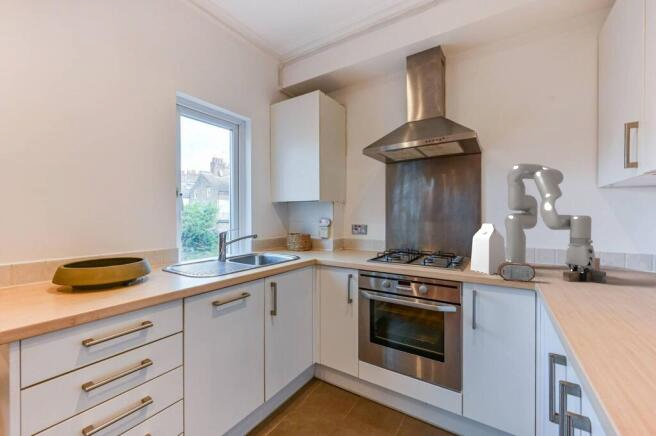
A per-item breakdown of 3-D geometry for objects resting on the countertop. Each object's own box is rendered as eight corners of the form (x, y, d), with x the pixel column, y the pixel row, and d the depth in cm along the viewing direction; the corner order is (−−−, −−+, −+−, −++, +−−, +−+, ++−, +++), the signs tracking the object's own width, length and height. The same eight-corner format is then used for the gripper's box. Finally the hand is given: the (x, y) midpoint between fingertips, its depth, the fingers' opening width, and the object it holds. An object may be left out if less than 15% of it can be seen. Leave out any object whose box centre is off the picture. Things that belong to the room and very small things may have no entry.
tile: (594, 278, 137) (595, 258, 137) (574, 274, 147) (574, 255, 147) (599, 278, 137) (599, 258, 137) (578, 274, 147) (579, 255, 147)
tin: (533, 280, 133) (533, 263, 133) (536, 282, 130) (536, 264, 130) (497, 278, 137) (497, 261, 137) (499, 280, 134) (499, 262, 134)
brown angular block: (578, 283, 127) (578, 272, 127) (554, 277, 139) (554, 267, 139) (605, 283, 129) (606, 272, 129) (579, 277, 141) (579, 267, 141)
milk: (505, 273, 149) (506, 224, 149) (488, 274, 146) (489, 224, 145) (486, 268, 161) (487, 223, 160) (470, 269, 157) (471, 223, 157)
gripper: (605, 243, 126) (604, 284, 126) (570, 239, 142) (569, 276, 142) (591, 243, 125) (589, 284, 125) (557, 239, 141) (556, 276, 142)
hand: (579, 279), depth 134 cm, fingers closed on brown angular block, 3 cm apart
